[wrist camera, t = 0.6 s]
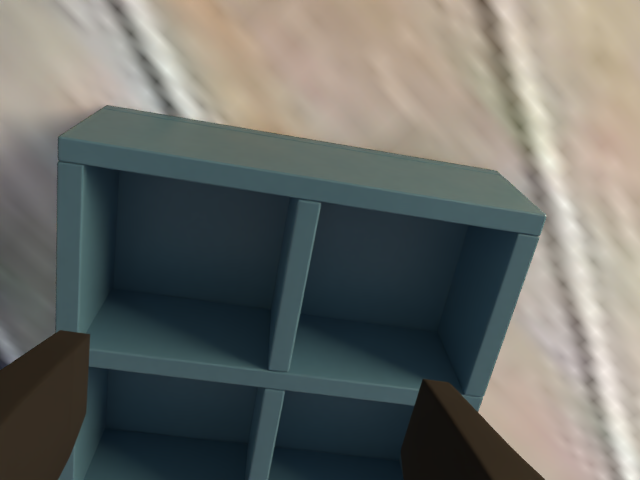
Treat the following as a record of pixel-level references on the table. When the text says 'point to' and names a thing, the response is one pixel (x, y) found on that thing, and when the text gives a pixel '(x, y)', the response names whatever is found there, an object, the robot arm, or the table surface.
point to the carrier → (272, 296)
